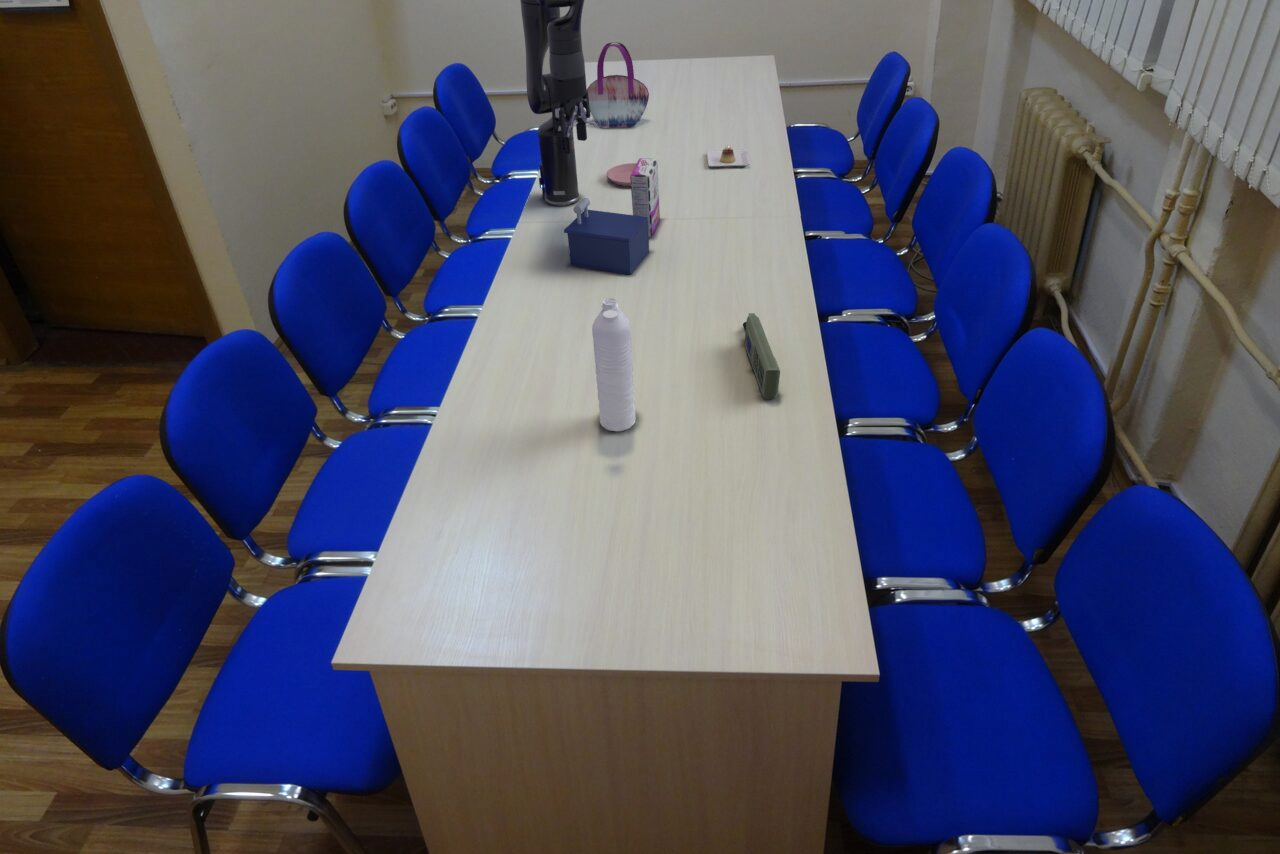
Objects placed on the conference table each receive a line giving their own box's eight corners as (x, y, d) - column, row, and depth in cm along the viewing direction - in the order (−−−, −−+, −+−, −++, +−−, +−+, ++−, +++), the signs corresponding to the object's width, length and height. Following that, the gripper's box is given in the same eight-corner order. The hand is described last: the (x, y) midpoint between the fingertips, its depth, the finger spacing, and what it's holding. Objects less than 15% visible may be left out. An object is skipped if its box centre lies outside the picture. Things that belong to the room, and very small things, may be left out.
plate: (665, 174, 247) (665, 168, 245) (639, 192, 237) (639, 185, 236) (624, 166, 253) (624, 160, 252) (597, 183, 244) (596, 176, 242)
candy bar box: (641, 218, 224) (638, 157, 214) (660, 219, 223) (658, 158, 213) (632, 237, 215) (629, 174, 205) (652, 238, 214) (649, 175, 204)
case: (570, 265, 205) (567, 233, 199) (591, 243, 213) (588, 212, 208) (630, 274, 200) (628, 242, 195) (649, 252, 208) (648, 220, 203)
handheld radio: (760, 400, 159) (737, 329, 178) (778, 399, 159) (752, 329, 179) (764, 370, 155) (739, 301, 174) (782, 369, 155) (755, 301, 175)
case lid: (564, 233, 200) (561, 211, 196) (585, 212, 208) (583, 191, 205) (628, 241, 195) (627, 219, 191) (648, 220, 203) (647, 198, 200)
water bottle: (599, 411, 158) (589, 292, 143) (634, 409, 158) (628, 289, 143) (600, 441, 151) (590, 319, 136) (637, 438, 151) (630, 316, 136)
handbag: (583, 128, 281) (577, 48, 265) (587, 118, 288) (581, 39, 273) (648, 127, 279) (646, 46, 263) (650, 117, 286) (648, 38, 271)
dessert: (749, 168, 248) (750, 151, 245) (708, 169, 248) (708, 153, 246) (746, 153, 257) (746, 137, 255) (706, 154, 258) (706, 138, 255)
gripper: (566, 62, 191) (572, 134, 201) (537, 80, 180) (545, 156, 190) (597, 64, 188) (602, 137, 198) (569, 83, 178) (576, 159, 188)
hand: (574, 146), depth 194 cm, fingers open, 8 cm apart
